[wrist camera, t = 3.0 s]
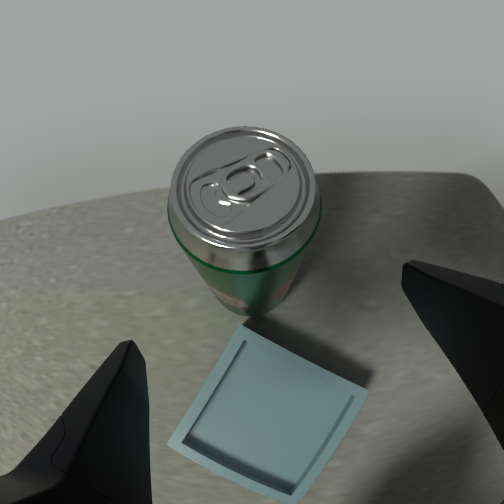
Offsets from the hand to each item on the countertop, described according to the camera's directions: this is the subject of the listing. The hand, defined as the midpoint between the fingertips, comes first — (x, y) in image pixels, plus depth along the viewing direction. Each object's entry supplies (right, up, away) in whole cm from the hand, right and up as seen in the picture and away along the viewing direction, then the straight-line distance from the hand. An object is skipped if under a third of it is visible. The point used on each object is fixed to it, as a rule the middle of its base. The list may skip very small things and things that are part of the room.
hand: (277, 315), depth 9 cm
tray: (0, -9, +8) cm, 12 cm away
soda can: (-1, 0, +11) cm, 11 cm away
